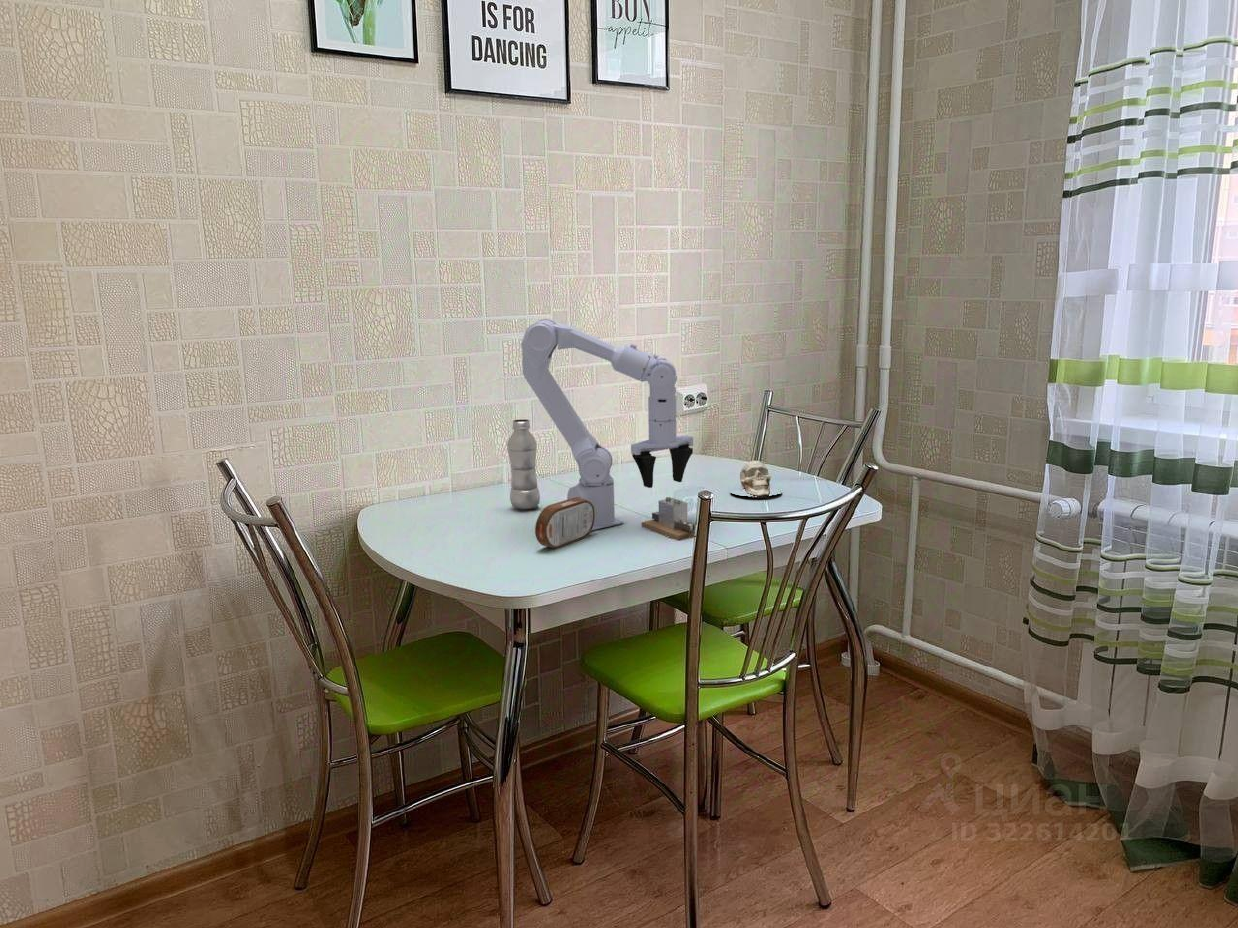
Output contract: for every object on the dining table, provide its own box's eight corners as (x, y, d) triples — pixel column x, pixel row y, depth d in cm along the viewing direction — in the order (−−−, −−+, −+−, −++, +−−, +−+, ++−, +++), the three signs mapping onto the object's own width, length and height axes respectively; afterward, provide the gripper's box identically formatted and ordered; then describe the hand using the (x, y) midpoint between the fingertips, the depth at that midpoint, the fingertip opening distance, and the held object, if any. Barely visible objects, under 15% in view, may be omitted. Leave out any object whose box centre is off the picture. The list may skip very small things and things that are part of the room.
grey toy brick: (673, 529, 184) (673, 503, 182) (658, 524, 188) (658, 498, 187) (687, 526, 186) (687, 500, 184) (672, 521, 190) (672, 495, 188)
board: (678, 540, 180) (678, 535, 180) (641, 526, 190) (641, 522, 190) (705, 533, 184) (705, 528, 184) (668, 520, 194) (668, 516, 193)
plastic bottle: (535, 513, 202) (531, 423, 197) (506, 512, 203) (501, 423, 199) (543, 505, 208) (540, 418, 204) (515, 504, 209) (510, 417, 205)
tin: (586, 532, 187) (585, 492, 185) (598, 534, 185) (597, 494, 184) (534, 551, 176) (532, 508, 174) (546, 554, 174) (544, 511, 172)
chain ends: (689, 532, 181) (689, 525, 181) (652, 519, 191) (651, 512, 191) (694, 531, 182) (694, 524, 182) (657, 518, 192) (657, 511, 192)
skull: (779, 502, 207) (779, 468, 205) (726, 499, 210) (726, 466, 208) (784, 489, 218) (784, 457, 216) (733, 487, 221) (733, 455, 219)
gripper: (644, 426, 180) (645, 493, 183) (702, 417, 188) (702, 482, 191) (624, 421, 186) (625, 486, 189) (681, 413, 194) (681, 476, 197)
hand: (663, 484), depth 190 cm, fingers open, 7 cm apart
